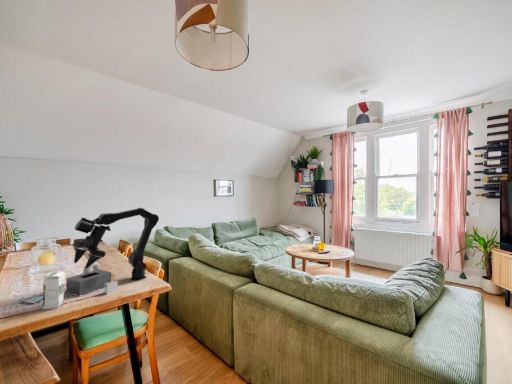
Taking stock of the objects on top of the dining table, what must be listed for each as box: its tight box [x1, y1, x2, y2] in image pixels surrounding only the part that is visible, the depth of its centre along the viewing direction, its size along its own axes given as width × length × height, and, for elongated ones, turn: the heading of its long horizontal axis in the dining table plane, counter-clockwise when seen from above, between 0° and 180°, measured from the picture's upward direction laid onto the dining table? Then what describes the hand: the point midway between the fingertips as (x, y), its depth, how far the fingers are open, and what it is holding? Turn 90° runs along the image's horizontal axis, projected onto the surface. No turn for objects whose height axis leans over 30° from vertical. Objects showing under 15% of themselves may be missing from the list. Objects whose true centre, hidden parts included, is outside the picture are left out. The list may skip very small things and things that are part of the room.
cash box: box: [65, 269, 112, 297], centre depth 125 cm, size 16×11×7 cm
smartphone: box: [19, 292, 43, 306], centre depth 114 cm, size 7×1×15 cm
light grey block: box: [103, 280, 119, 295], centre depth 122 cm, size 6×2×5 cm, turn 156°
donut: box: [82, 261, 101, 274], centre depth 139 cm, size 10×4×10 cm, turn 170°
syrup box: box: [41, 271, 66, 311], centre depth 105 cm, size 6×6×14 cm
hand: (80, 265), depth 120 cm, fingers open, 9 cm apart
